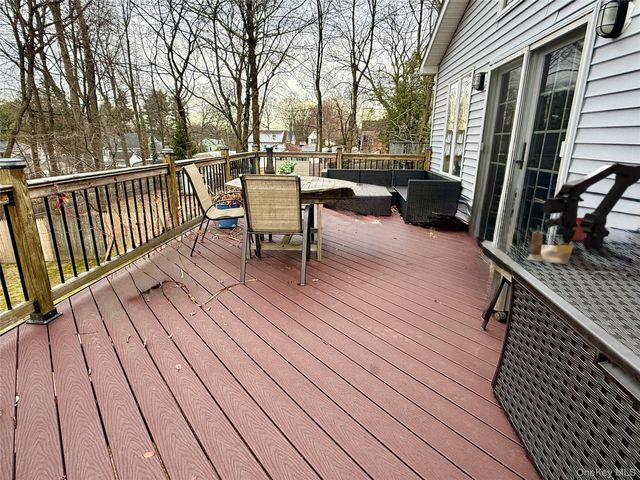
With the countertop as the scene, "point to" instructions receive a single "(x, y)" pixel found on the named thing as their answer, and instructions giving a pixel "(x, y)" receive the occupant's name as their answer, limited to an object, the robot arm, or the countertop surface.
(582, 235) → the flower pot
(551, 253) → the panel
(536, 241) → the awl
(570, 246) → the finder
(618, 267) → the countertop surface
